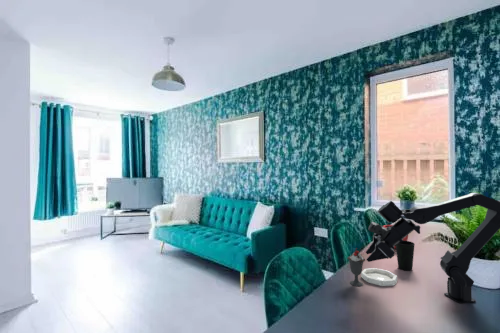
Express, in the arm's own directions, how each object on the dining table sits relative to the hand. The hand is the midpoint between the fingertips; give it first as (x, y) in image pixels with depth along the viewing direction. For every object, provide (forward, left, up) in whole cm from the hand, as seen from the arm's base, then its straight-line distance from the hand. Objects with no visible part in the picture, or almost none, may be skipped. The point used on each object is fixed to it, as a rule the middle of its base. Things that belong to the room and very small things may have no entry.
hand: (366, 256), depth 105 cm
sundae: (+2, +4, -11) cm, 12 cm away
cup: (+14, -26, -11) cm, 32 cm away
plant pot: (+45, -43, -12) cm, 64 cm away
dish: (+5, -8, -11) cm, 15 cm away
